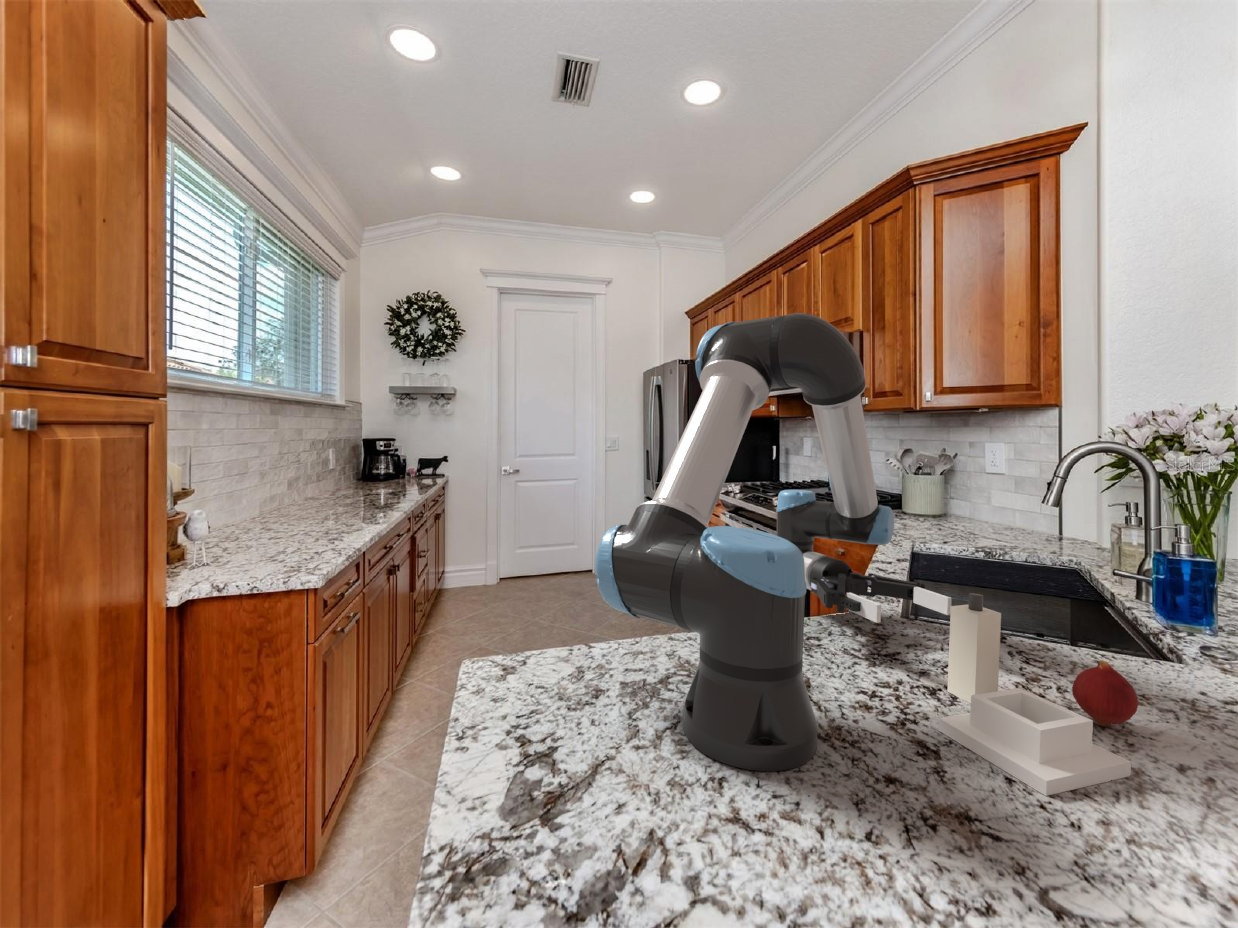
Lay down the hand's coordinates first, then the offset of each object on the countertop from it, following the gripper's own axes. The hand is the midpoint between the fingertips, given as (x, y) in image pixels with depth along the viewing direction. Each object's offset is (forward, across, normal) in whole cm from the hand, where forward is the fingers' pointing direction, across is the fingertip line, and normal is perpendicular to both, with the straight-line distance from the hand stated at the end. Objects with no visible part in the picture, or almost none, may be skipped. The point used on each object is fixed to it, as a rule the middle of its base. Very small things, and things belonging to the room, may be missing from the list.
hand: (915, 610), depth 79 cm
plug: (+10, 0, -9) cm, 13 cm away
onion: (+20, -9, -9) cm, 23 cm away
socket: (+22, +6, -8) cm, 24 cm away
